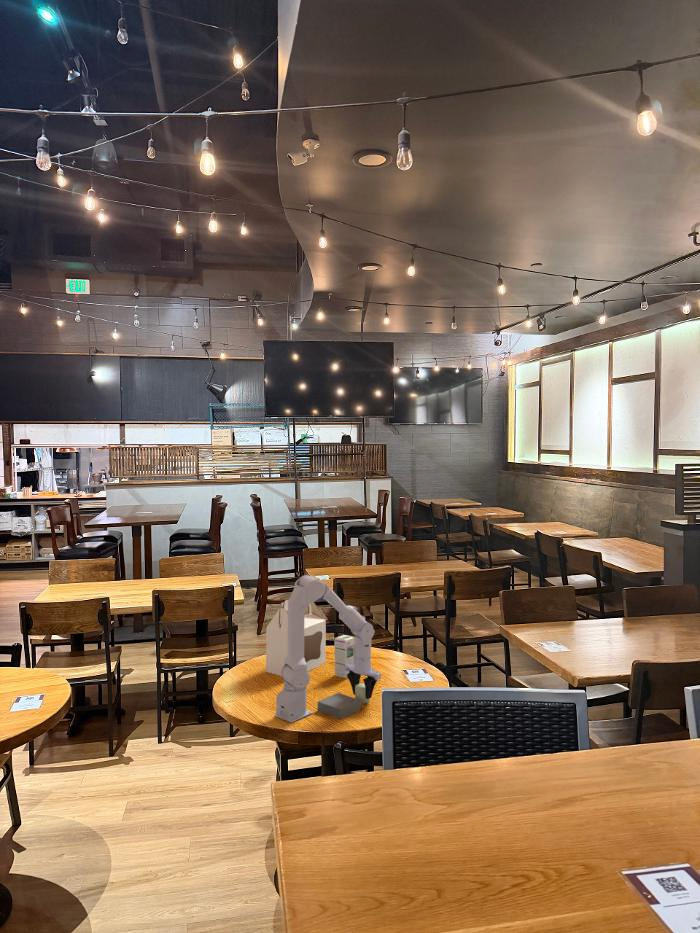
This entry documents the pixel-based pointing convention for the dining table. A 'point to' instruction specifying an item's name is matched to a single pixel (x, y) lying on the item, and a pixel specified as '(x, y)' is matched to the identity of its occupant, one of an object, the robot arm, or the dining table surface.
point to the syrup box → (343, 654)
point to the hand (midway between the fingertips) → (362, 696)
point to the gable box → (312, 639)
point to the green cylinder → (361, 693)
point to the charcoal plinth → (339, 705)
